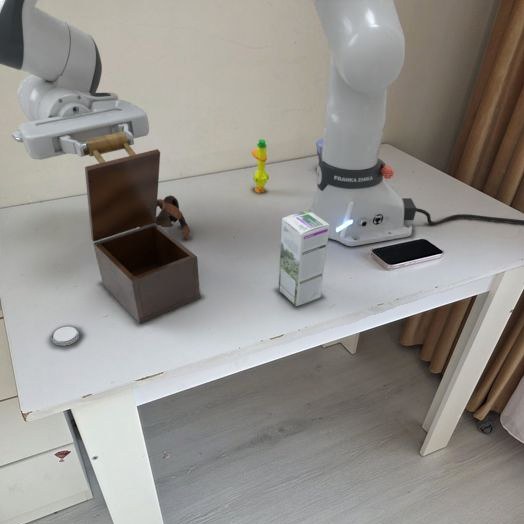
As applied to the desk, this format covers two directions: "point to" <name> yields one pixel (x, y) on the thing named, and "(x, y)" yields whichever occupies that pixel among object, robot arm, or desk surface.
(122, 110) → the robot arm
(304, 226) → the syrup box
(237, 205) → the desk surface
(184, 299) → the box
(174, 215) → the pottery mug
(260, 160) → the toy figure
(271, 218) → the desk surface
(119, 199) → the chest lid
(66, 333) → the white flat disc
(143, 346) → the desk surface
